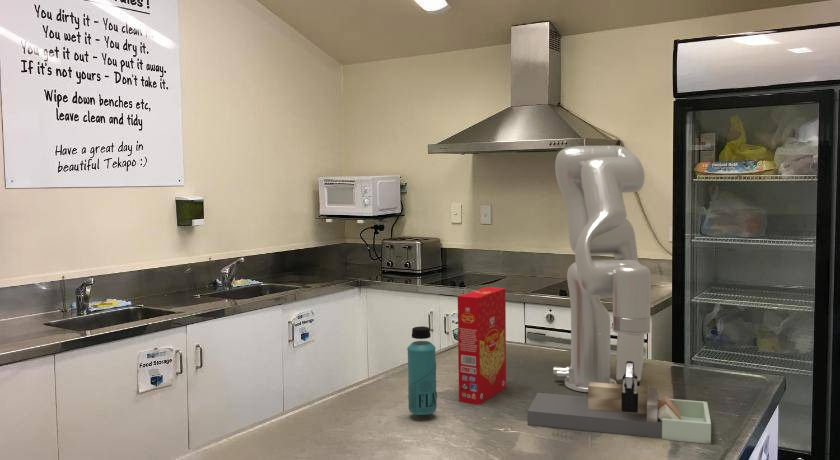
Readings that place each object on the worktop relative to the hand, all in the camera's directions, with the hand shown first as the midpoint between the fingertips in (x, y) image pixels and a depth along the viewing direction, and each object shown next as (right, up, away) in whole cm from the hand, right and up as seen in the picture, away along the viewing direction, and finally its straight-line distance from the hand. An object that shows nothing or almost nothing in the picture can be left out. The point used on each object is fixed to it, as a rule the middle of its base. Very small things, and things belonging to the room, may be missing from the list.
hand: (630, 404), depth 149 cm
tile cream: (+6, -2, -5) cm, 8 cm away
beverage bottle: (-44, -5, +7) cm, 45 cm away
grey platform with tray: (-3, -4, +1) cm, 5 cm away
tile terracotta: (+7, -2, +1) cm, 8 cm away
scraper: (-1, -1, 0) cm, 2 cm away
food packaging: (-29, -3, +22) cm, 37 cm away
